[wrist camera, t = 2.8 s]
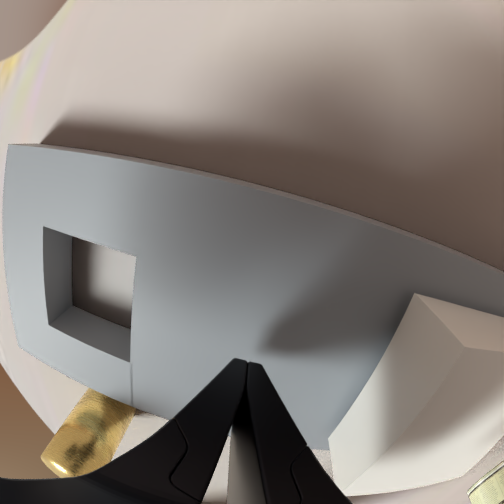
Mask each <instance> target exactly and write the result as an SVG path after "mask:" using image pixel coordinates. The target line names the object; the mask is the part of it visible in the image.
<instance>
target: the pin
mask: <svg viewBox="0 0 504 504" xmlns="http://www.w3.org/2000/svg"><path fill="white" fill-rule="evenodd" d="M135 412H136V408H135V407H132V406H130V405H127V404H125V403H122V402H120V401H117V400H115V399H113V398H111V397H108V396H106V395H104V394H102V393H100V392H97V391H95V390H93V389H91V388H88V390H87V391H86V392H85V394H84V395H83V396H82V398H81V399H80V401H79V402H78V403H77V405H76V406H75V407H74V409H73V410H72V412H71V413H70V414H69V416H68V417H67V419H66V420H65V421H64V423H63V424H62V426H61V427H60V429H59V430H58V431H57V433H56V434H55V436H54V437H53V439H52V440H51V442H50V443H49V445H48V446H47V447H46V449H45V450H44V452H43V453H42V455H41V459H42V461H43V462H44V463H45V464H46V466H47V467H48V468H49V469H51V470H52V471H53V472H54V473H55V474H56V475H58V476H59V477H60V478H66V477H75V476H80V475H84V474H87V473H90V472H92V471H94V470H96V469H98V468H100V467H102V466H104V465H106V464H107V463H109V462H111V460H112V458H113V456H114V454H115V452H116V450H117V448H118V446H119V444H120V442H121V440H122V438H123V436H124V434H125V432H126V430H127V428H128V426H129V424H130V422H131V420H132V418H133V416H134V414H135Z"/></svg>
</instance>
